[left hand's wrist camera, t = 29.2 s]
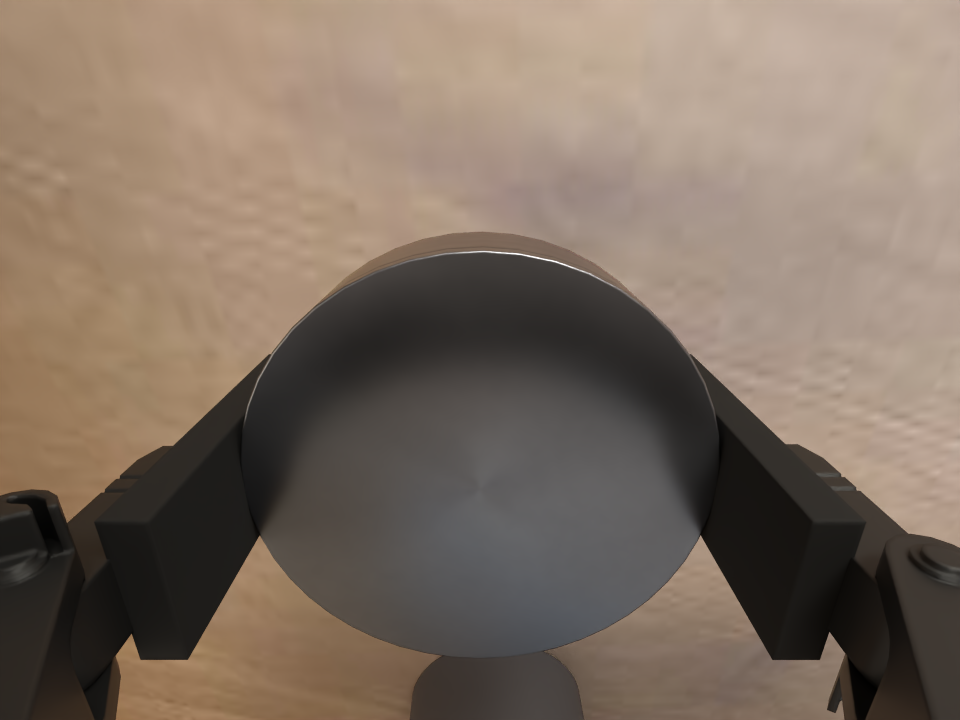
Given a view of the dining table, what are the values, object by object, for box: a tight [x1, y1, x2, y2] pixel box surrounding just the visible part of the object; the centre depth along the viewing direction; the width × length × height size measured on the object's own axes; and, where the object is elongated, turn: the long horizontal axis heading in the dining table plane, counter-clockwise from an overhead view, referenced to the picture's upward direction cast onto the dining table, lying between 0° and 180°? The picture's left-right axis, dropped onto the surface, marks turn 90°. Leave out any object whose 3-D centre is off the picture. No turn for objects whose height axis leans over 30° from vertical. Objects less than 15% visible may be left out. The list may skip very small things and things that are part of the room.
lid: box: [241, 232, 720, 658], centre depth 11 cm, size 9×9×2 cm
